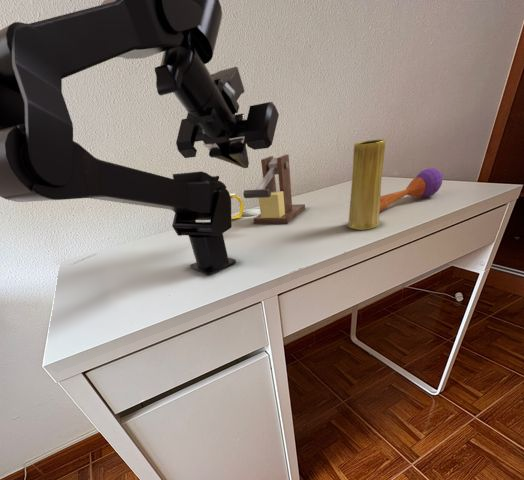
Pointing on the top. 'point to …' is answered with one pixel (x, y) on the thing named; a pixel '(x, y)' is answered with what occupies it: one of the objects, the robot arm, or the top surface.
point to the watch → (240, 206)
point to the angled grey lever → (263, 182)
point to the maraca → (416, 187)
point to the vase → (366, 184)
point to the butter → (272, 205)
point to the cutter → (284, 185)
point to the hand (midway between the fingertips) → (246, 165)
